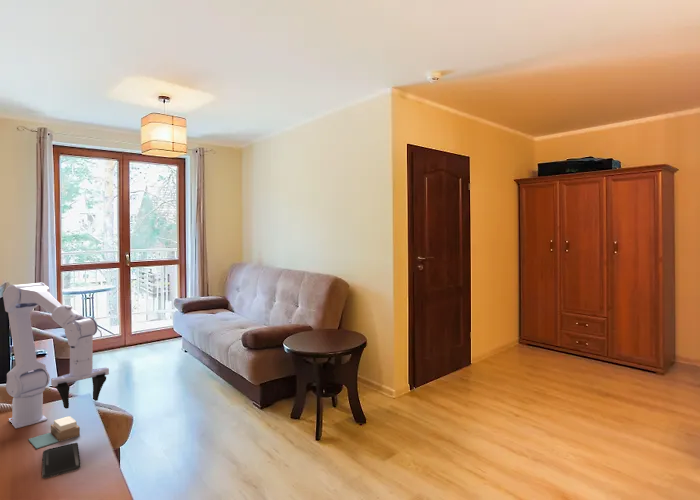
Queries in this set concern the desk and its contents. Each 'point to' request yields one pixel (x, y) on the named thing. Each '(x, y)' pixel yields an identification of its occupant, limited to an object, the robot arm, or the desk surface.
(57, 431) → the block
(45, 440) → the mat
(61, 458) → the phone
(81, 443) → the desk surface
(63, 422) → the cream rectangular block
